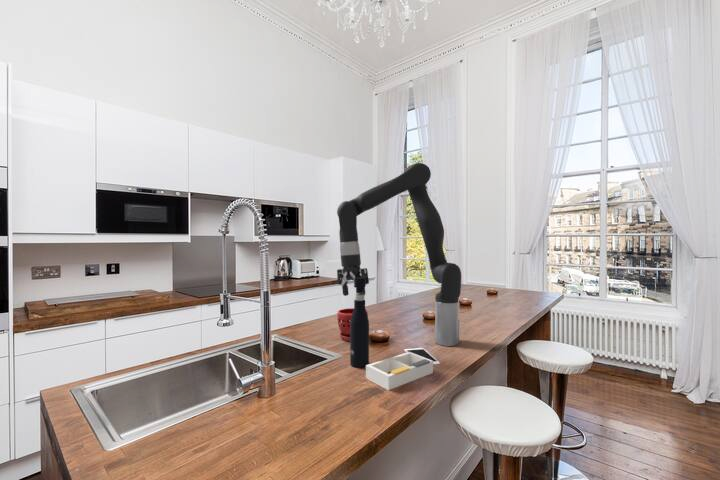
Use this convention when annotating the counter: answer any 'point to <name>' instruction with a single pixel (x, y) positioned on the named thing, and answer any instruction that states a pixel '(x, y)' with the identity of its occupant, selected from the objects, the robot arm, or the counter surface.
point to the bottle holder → (399, 370)
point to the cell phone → (423, 354)
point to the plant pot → (345, 322)
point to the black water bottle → (359, 328)
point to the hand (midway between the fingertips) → (354, 295)
